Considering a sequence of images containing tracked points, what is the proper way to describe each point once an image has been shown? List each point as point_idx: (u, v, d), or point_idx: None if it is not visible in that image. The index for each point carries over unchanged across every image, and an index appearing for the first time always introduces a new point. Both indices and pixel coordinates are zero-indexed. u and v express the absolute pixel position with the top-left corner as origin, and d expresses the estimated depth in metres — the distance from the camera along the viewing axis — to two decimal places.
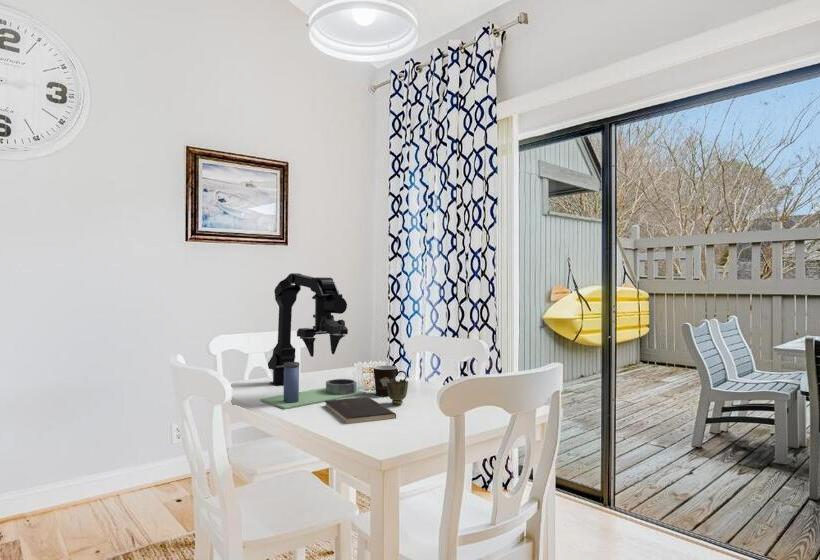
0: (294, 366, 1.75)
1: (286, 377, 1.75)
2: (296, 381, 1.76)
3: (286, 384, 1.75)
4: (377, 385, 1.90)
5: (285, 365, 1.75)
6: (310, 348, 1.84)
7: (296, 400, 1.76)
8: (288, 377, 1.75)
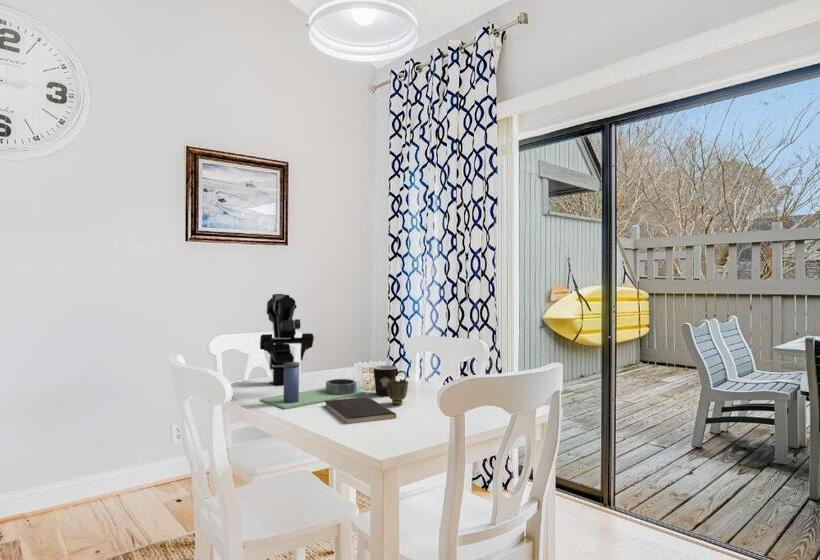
0: (294, 366, 1.75)
1: (286, 377, 1.75)
2: (296, 381, 1.76)
3: (286, 384, 1.75)
4: (377, 385, 1.90)
5: (285, 365, 1.75)
6: (271, 352, 1.85)
7: (296, 400, 1.76)
8: (288, 377, 1.75)
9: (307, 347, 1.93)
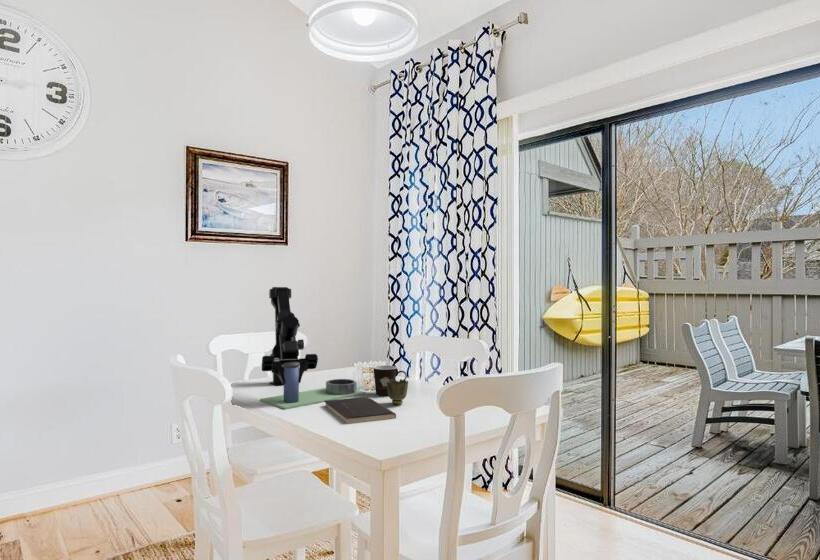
0: (294, 366, 1.75)
1: (286, 377, 1.75)
2: (296, 381, 1.76)
3: (286, 384, 1.75)
4: (377, 385, 1.90)
5: (285, 365, 1.75)
6: (280, 374, 1.76)
7: (296, 400, 1.76)
8: (288, 377, 1.75)
9: (305, 368, 1.83)
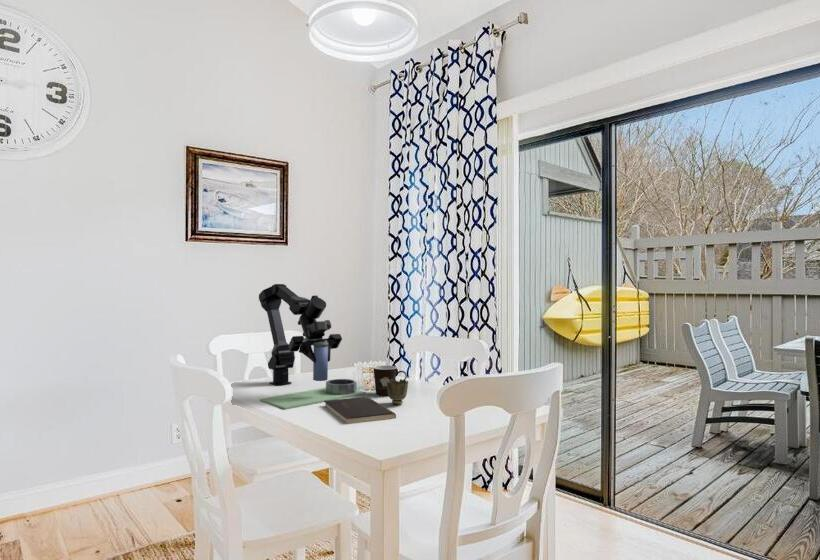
0: (325, 345, 1.82)
1: (318, 356, 1.82)
2: (326, 360, 1.83)
3: (317, 363, 1.82)
4: (377, 385, 1.90)
5: (316, 344, 1.82)
6: (310, 354, 1.82)
7: (326, 378, 1.83)
8: (319, 356, 1.82)
9: None
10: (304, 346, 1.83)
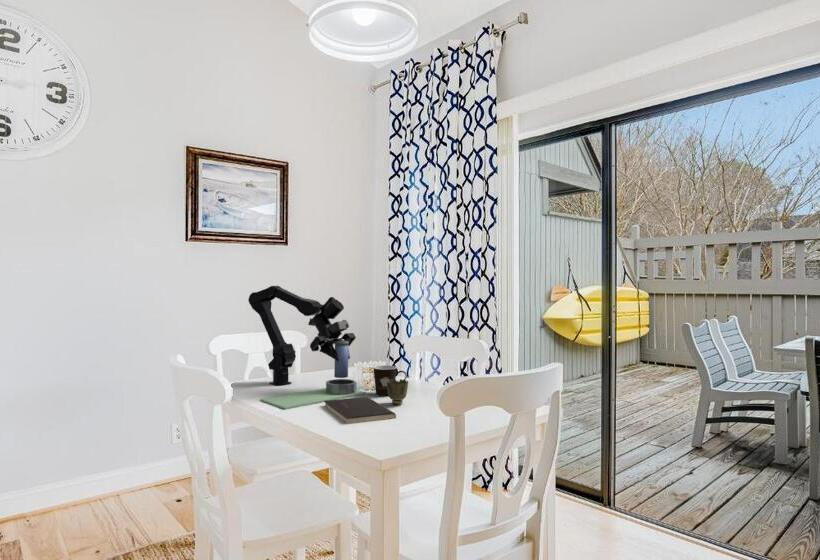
0: (347, 344, 1.93)
1: (341, 354, 1.91)
2: None
3: (340, 361, 1.91)
4: (377, 385, 1.90)
5: (339, 343, 1.91)
6: (333, 353, 1.91)
7: (347, 375, 1.94)
8: (342, 354, 1.91)
9: None
10: (326, 345, 1.91)
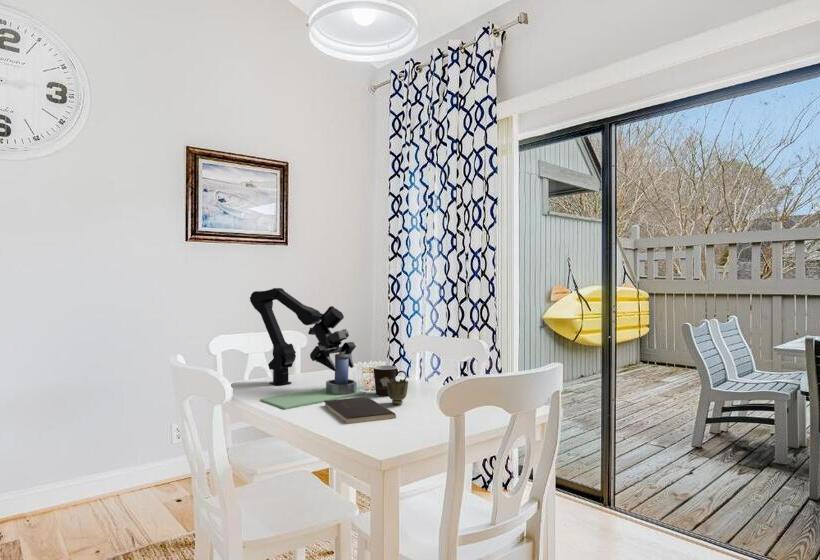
0: (347, 357, 1.92)
1: (341, 368, 1.91)
2: None
3: (341, 374, 1.91)
4: (377, 385, 1.90)
5: (340, 357, 1.91)
6: (329, 363, 1.90)
7: None
8: (342, 368, 1.91)
9: None
10: (322, 355, 1.90)
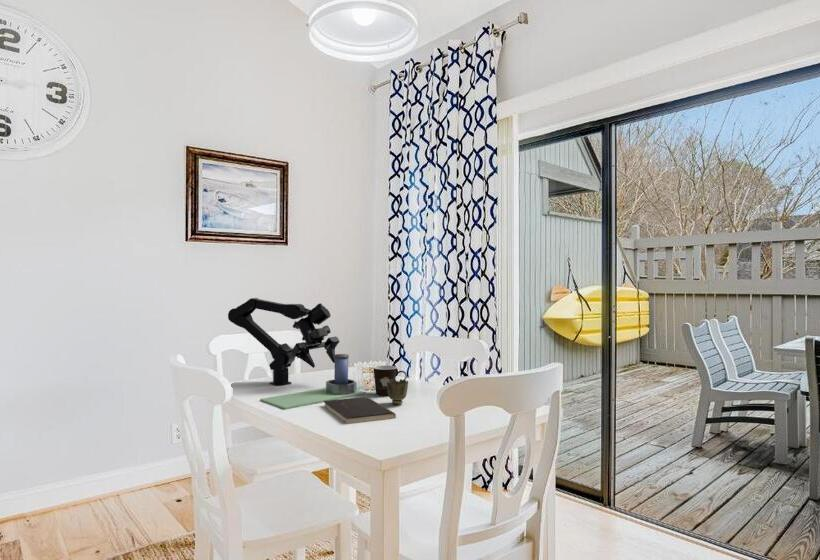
0: (347, 357, 1.93)
1: (341, 367, 1.91)
2: (347, 371, 1.94)
3: (340, 374, 1.91)
4: (377, 385, 1.90)
5: (339, 357, 1.91)
6: (309, 359, 1.96)
7: None
8: (342, 368, 1.91)
9: None
10: (302, 352, 1.96)
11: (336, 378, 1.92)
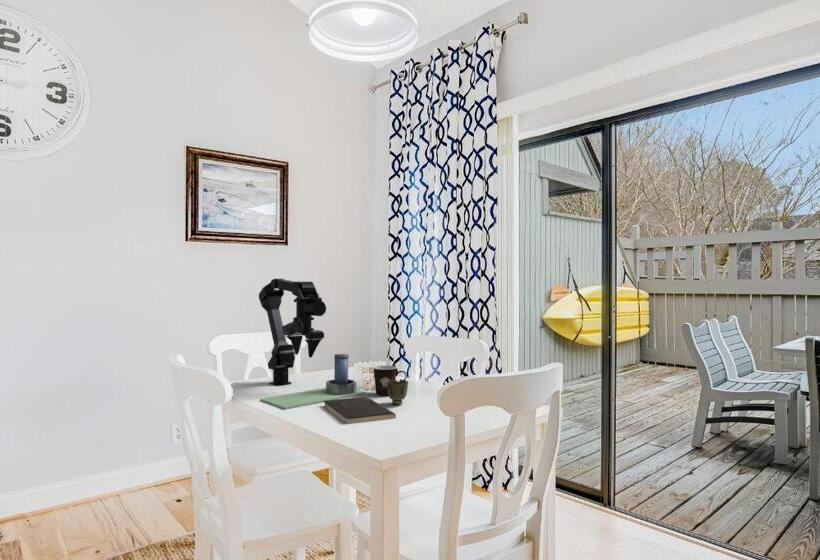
0: (347, 357, 1.93)
1: (341, 367, 1.91)
2: (347, 371, 1.94)
3: (340, 374, 1.91)
4: (377, 385, 1.90)
5: (339, 357, 1.91)
6: None
7: None
8: (342, 368, 1.91)
9: (318, 340, 1.93)
10: None
11: (336, 378, 1.92)
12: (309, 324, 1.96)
